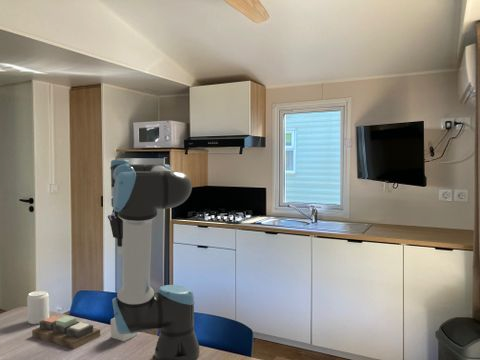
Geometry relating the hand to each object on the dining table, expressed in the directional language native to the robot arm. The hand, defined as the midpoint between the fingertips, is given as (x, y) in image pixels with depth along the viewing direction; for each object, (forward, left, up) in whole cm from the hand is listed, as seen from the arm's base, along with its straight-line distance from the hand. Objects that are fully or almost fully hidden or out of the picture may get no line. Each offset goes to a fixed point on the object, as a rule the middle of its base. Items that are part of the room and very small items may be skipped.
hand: (122, 253), depth 166 cm
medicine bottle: (-11, +11, -29) cm, 33 cm away
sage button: (+9, +21, -24) cm, 33 cm away
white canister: (+32, +16, -29) cm, 46 cm away
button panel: (+9, +21, -28) cm, 36 cm away
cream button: (+1, +21, -26) cm, 33 cm away
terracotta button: (+16, +21, -26) cm, 37 cm away
